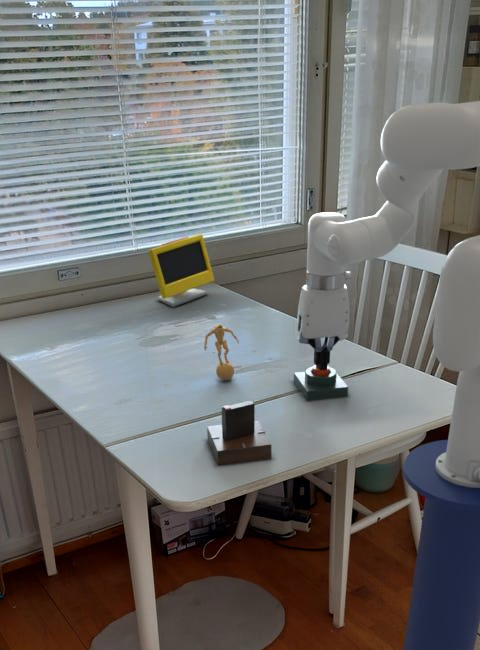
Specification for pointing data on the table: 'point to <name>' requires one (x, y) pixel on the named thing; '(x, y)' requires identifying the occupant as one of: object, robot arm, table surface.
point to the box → (320, 385)
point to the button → (320, 371)
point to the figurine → (224, 368)
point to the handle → (238, 420)
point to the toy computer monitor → (181, 269)
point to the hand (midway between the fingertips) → (321, 367)
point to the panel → (239, 446)
